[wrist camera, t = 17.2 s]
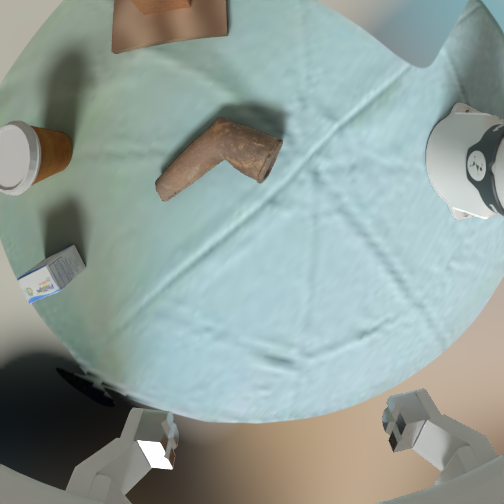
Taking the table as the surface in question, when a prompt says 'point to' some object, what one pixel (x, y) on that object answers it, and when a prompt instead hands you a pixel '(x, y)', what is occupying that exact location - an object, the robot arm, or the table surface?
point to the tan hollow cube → (160, 5)
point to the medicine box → (51, 274)
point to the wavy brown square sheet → (166, 24)
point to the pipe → (221, 156)
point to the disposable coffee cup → (30, 155)
